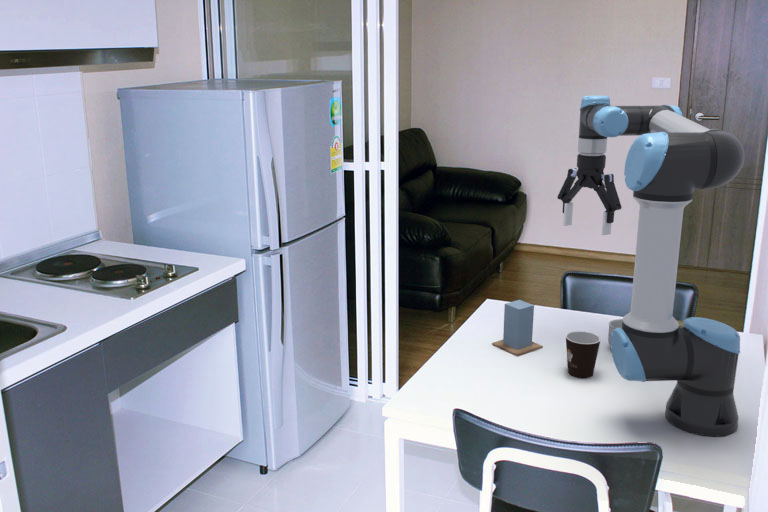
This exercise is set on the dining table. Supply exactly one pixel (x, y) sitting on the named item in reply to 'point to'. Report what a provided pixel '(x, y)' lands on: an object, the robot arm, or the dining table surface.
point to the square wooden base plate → (514, 351)
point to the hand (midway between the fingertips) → (586, 229)
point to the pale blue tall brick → (518, 324)
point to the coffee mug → (581, 353)
